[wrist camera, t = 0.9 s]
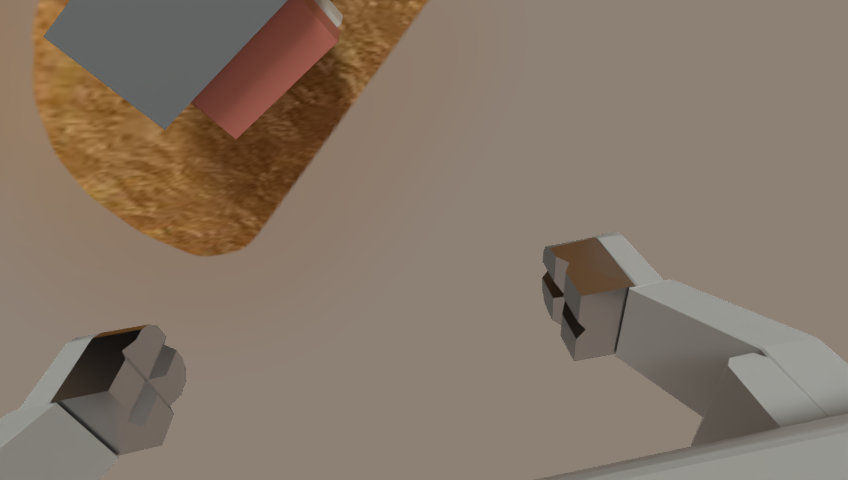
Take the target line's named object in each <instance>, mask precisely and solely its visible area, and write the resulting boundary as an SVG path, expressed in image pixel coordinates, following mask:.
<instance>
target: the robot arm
mask: <svg viewBox="0 0 848 480" xmlns="http://www.w3.org/2000/svg"><path fill="white" fill-rule="evenodd" d="M543 263H544V265H545V266H546V268H547V270H548V271H547V272H546V274H545V275H544V276H543V278H542V291H543V296H544V301H545V304H546V307H547V310H548V312H549V314H550V316H551V318H552V320H554V321H555V322H557V323H559V324H561V337H562V339H563V341H564V343H565V345H566V347H567V349H568V351H569V352H570V354H571V356H572V358H573V360H574V361H577V360H583V359H589V358H594V357H600V356H606V355H611V354H616V357H618V358H619V359H621V360H622V361H624V362H625V363H627V364H628V365H629V366H631V367H632V368H633V369H635V370H636V371H638V372H639V373H641V374H642V375H643V376H645V377H646V378H648V379H649V380H651V381H652V382H654V383H655V384H656V385H658V386H659V387H661V388H662V389H663V390H665V391H666V392H668V393H669V394H671V395H672V396H674V397H675V398H676V399H678V400H679V401H680V402H682V403H683V404H685V405H686V406H688V407H689V408H691V409H692V410H693V411H695V412H696V413H698V414H699V415H701V416H702V417H703V418H702V420H701V422H700V425H699V427H698V429H697V431H696V434H695V436H694V438H693V442H692V444H691V446H692V447H687V448H682V449H677V450H673V451H668V452H663V453H659V454H654V455H649V456H644V457H640V458H635V459H631V460H626V461H621V462H616V463H612V464H607V465H602V466H598V467H593V468H588V469H583V470H578V471H574V472H569V473H564V474H560V475H555V476H550V477H545V478H541V479H536V480H848V364H847V363H846V362H845V361H844V360H842V359H841V358H840V357H839V356H838V355H837V354H835V353H834V352H833V351H832V350H831V349H830V348H829V347H827V346H826V345H825V344H824V343H823V342H821V341H820V340H819V339H818V338H816V337H814V336H811V335H809V334H806V333H804V332H801V331H799V330H796V329H794V328H791V327H789V326H786V325H784V324H781V323H779V322H776V321H774V320H772V319H769V318H766V317H764V316H761V315H759V314H757V313H754V312H752V311H749V310H747V309H744V308H741V307H739V306H736V305H734V304H732V303H729V302H727V301H724V300H722V299H719V298H717V297H714V296H712V295H709V294H706V293H704V292H702V291H699V290H697V289H694V288H692V287H689V286H686V285H684V284H682V283H679V282H677V281H674V280H666V281H664V280H663V279H662V278H661V277H660V276H659V275H658V273H657V272H656V271H655V270H654V269H653V268H652V267H651V266H650V265H649V264H648V263H647V262H646V261H645V259H644V258H643V257H642V256H641V255H640V254H639V253H638V252H637V251H636V250H635V249H634V247H632V245H631V244H630V243H629V242H628V241H627V240H626V239H625V238H624V237H623V236H622V235H621V234H620V233H618V232H612V233H607V234H602V235H598V236H593V237H592V238H586V239H581V240H576V241H571V242H566V243H562V244H557V245H552V246H547V247H545V249H544V252H543ZM165 339H166V336H165V334H164V333H163V332H162V331H161V330H160V328H159V327H158V326H156V325H143V326H138V327H132V328H126V329H121V330H115V331H109V332H103V333H100V334H95V335H88V336H83V337H77V338H75V339H73V340H71V341H69V342H68V343H66V345H65V346H64V348H63V349H62V350H61V352H60V353H59V355H58V356H57V357H56V359H55V360H54V361H53V363H52V364H51V366H50V367H49V368H48V370H47V371H46V373H45V374H44V375H43V377H42V378H41V380H40V381H39V382H38V384H37V385H36V386H35V388H34V389H33V391H32V392H31V393H30V395H29V396H28V398H27V399H26V400H25V402H24V403H23V405H22V406H21V407H20V409H19V410H17V411H12V412H9V413H8V414H7V415H5V416H4V417H3V418H1V419H0V480H100V479H101V478H102V477H103V475H104V474H105V473H106V472H107V471H108V470H109V469H110V467H111V466H112V465H113V464H114V463H115V461H116V460H117V459H118V455H122V454H127V453H131V452H135V451H139V450H144V449H148V448H152V447H157V446H161V445H162V444H163V441H164V439H165V436H166V433H167V431H168V428H169V425H170V423H171V420H172V418H173V415H174V413H173V411H172V409H171V407H170V405H171V404H172V403H173V402H174V401H175V400H176V399H177V398H178V397H179V396H180V395H181V394H182V391H183V388H184V385H185V382H186V368H185V364H184V362H183V359H182V357H181V356H180V354H179V353H178V351H177V350H175V349H173V348H170V347H168V346H165V345H164V343H165Z"/></svg>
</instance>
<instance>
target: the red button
mask: <svg viewBox="0 0 848 480" xmlns="http://www.w3.org/2000/svg"><path fill="white" fill-rule="evenodd" d="M339 33H340V30H339V29H338V28H337V27H336V26H335V24H334V23H333V22H332V21H331V20H330V18H329V17H328V16H327V15H326V14H325V13H324V11H323V10H322V9H321V8H320V7H319V6H318V4H317V3H316V2H315V1H314V0H287V1H286V2H285V3H284V5H283V6H282V7H281V8H280V9H279V10H278V11H277V12H276V13H275V14H274V15H273V16H272V17H271V18H270V19H269V20H268V21H267V22H266V24H265V25H264V26H263V27H262V28H261V29H260V30H259V31H258V32H257V33H256V34H255V35H254V36H253V37H252V38H251V39H250V40H249V41H248V43H247V44H246V45H245V46H244V47H243V48H242V49H241V50H240V51H239V52H238V53H237V54H236V55H235V56H234V57H233V58H232V59H231V60H230V61H229V63H228V64H227V65H226V66H225V67H224V68H223V69H222V70H221V71H220V72H219V73H218V74H217V75H216V76H215V77H214V78H213V79H212V80H211V82H210V83H209V84H208V85H207V86H206V87H205V88H204V89H203V90H202V91H201V92H200V93H199V94H198V95H197V96H196V97H195V98H194V99H193V101H192V103H193V104H194V105H195V106H196V107H198V108H199V109H200V110H201V111H202V112H204V113H205V114H206V115H207V116H208V117H210V118H211V119H212V120H213V121H214V122H216V123H217V124H218V125H219V126H220V127H222V128H223V129H224V130H225V131H226V132H228V133H229V134H230V135H231V136H232V137H234V138H235V139H237V138H238V137H239V136H240V135H241V134H242V133H243V132H244V131H245V130H246V129H247V128H249V127H250V126H251V125H252V124H253V123H254V122H255V121H256V120H257V119H258V118H259V117H260V116H261V115H262V114H263V113H264V112H265V111H266V110H267V109H268V108H269V107H270V106H271V105H272V104H273V103H275V102H276V101H277V100H278V99H279V98H280V97H281V96H282V95H283V94H284V93H285V92H286V91H287V90H288V89H289V88H290V87H291V86H292V85H293V84H294V83H295V82H296V81H297V80H298V79H299V78H300V77H302V76H303V75H304V74H305V73H306V72H307V71H308V70H309V69H310V68H311V67H312V66H313V65H314V64H315V63H316V62H317V61H318V60H319V59H320V58H321V57H322V56H323V55H324V54H325V53H326V52H328V51H329V50H330V49H331V48H332V47H333V46H334V45H335V44H336V43H337V42H338V38H339Z"/></svg>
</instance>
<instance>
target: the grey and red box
mask: <svg viewBox="0 0 848 480" xmlns="http://www.w3.org/2000/svg"><path fill="white" fill-rule="evenodd" d="M286 1H287V0H70V1H69V3H68V4H67V5H66V7H65V8H64V9H63V11H62V12H61V13H60V15H59V16H58V17H57V19H56V20H55V22H54V23H53V24H52V26H51V27H50V28H49V30H48V31H47V32H46V34H45V35H44V38H46V39H47V40H48V41H50V42H51V43H52V44H53V45H55V46H56V47H57V48H59V49H60V50H61V51H63V52H64V53H65V54H67V55H68V56H69V57H70V58H72V59H73V60H74V61H76V62H77V63H78V64H80V65H81V66H82V67H83V68H85V69H86V70H87V71H89V72H90V73H91V74H93V75H94V76H95V77H96V78H98V79H99V80H100V81H102V82H103V83H104V84H106V85H107V86H108V87H110V88H111V89H112V90H113V91H115V92H116V93H117V94H119V95H120V96H121V97H123V98H124V99H125V100H126V101H128V102H129V103H130V104H132V105H133V106H134V107H136V108H137V109H138V110H139V111H141V112H142V113H143V114H145V115H146V116H147V117H149V118H150V119H151V120H153V121H154V122H155V123H156V124H158V125H159V126H160V127H162V128H163V129H164V130H165V129H166V128H167V127H168V126H169V125H170V124H171V123H172V122H173V121H174V120H175V118H176V117H177V116H178V115H179V114H180V113H181V112H182V111H183V110H184V109H185V108H186V107H187V106H188V105H189V104H190V103H191V102H192V101H193V99H194V98H195V97H196V96H197V95H198V94H199V93H200V92H201V91H202V90H203V89H204V88H205V87H206V86H207V85H208V84H209V83H210V82H211V80H212V79H213V78H214V77H215V76H216V75H217V74H218V73H219V72H220V71H221V70H222V69H223V68H224V67H225V66H226V65H227V64H228V63H229V61H230V60H231V59H232V58H233V57H234V56H235V55H236V54H237V53H238V52H239V51H240V50H241V49H242V48H243V47H244V46H245V45H246V44H247V43H248V41H249V40H250V39H251V38H252V37H253V36H254V35H255V34H256V33H257V32H258V31H259V30H260V29H261V28H262V27H263V26H264V25H265V24H266V22H267V21H268V20H269V19H270V18H271V17H272V16H273V15H274V14H275V13H276V12H277V11H278V10H279V9H280V8H281V7H282V6H283V5H284V3H285V2H286Z"/></svg>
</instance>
